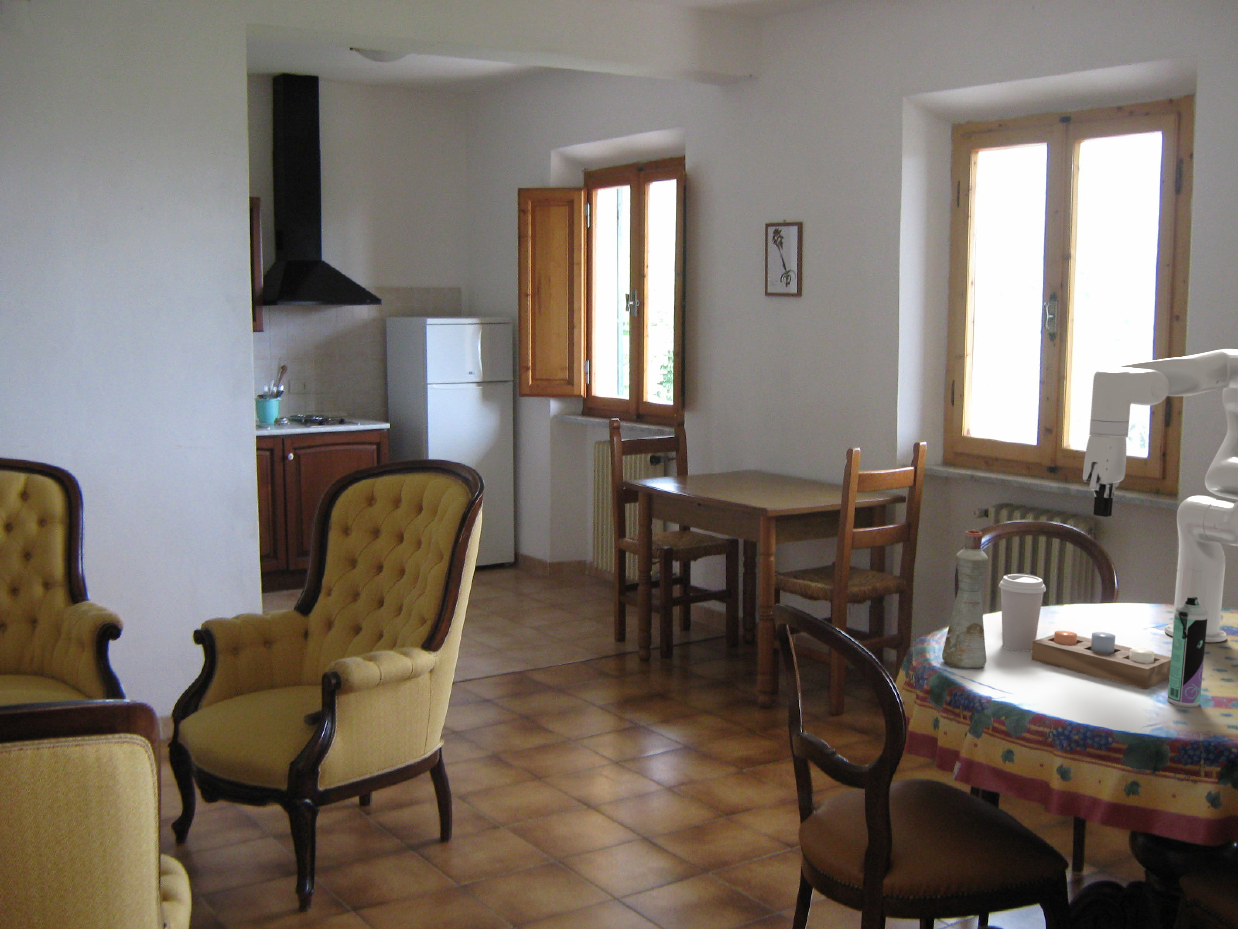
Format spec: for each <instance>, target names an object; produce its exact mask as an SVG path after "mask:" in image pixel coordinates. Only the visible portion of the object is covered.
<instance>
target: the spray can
mask: <svg viewBox="0 0 1238 929" xmlns="http://www.w3.org/2000/svg"><path fill="white" fill-rule="evenodd" d="M1197 599H1198V598H1197V597H1190V598H1187V601H1186V602H1185V603H1184V605H1182V606H1180V607H1177V608H1176V612H1175V618H1174V629H1173V636H1172V642H1171V652H1170V654H1171V655H1170V657H1171V664H1170V676H1169V680H1168V688H1167V689H1168V690H1167V701H1168V702H1169V703H1170V704H1173V705H1175V706H1180V707H1185V708H1186V707H1187V708H1196V707H1199V706H1200V704H1201V694H1202V682H1203V672H1204V660H1205V659H1204V658H1205V649H1206V642H1205V640H1206V629H1207V618H1208V616H1207V611H1206V610H1204V609H1203V608H1202V607H1200V604H1199V603H1198V602H1197Z"/></svg>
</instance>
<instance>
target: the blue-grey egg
mask: <svg viewBox="0 0 1238 929" xmlns="http://www.w3.org/2000/svg"><path fill="white" fill-rule="evenodd" d="M1091 639H1092V640H1091V651H1095V652H1099V653H1103V654H1107V655H1110V654H1113V653H1114V647H1115V644H1116V635H1115V634H1113V633H1109V632H1105V631H1104V632H1103V631H1098V632H1097V631H1095V632H1092V633H1091Z"/></svg>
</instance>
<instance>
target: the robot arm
mask: <svg viewBox="0 0 1238 929" xmlns="http://www.w3.org/2000/svg"><path fill="white" fill-rule="evenodd" d="M1092 380H1093V382H1092V397H1091V409H1090V419H1089V421H1090V423H1089V434H1088V440H1087V445H1086V449H1085V453H1084V455H1085V456H1084V462H1083V472H1082V479H1083V480H1082V481H1083V482H1085V483H1089V489H1090V490H1092V491H1093V496H1094V501H1093V502H1094V503H1093V513H1092V514H1093V515H1094V516H1096V517H1103V518H1104V517H1105V518H1107V517H1108V518H1109V517H1111V516H1112V515H1113V512H1112V511H1113V502H1114V501H1113V500H1114V499H1113V498H1114V497H1115V493H1116V488H1117V487H1119V485H1120V482H1121V481H1124V479H1125V476H1126V467H1127V438H1129V428H1130V427H1129V426H1130V416H1131V405H1137V406H1138V405H1140V406H1154V405H1158V404H1160V403H1161V402H1163V401H1164V400H1165V399H1166V398H1167V397H1190V396H1195V395H1199V394H1204V393H1208V392H1213V391H1218V390H1222V389H1223V391H1222V393H1221V394H1222V397H1221V399H1222V400H1221V401H1222V405H1223V408H1224V413H1225V416H1226V422H1227V431H1226V435H1225V437H1224V440H1223V441H1222V443H1221V445H1220V447H1219V448H1218V451H1216V452H1217V453H1216V454H1215V456H1214V458H1213V460H1212V462H1211V463H1210V466H1209V468H1208V470H1207V472H1206V474H1205V477H1204V485H1205V488H1206V489H1207V491H1209V492H1210V493H1212V495H1213V494H1214V495H1216V496H1219V497H1214V496H1208V495H1191V496H1189V497H1187V498H1185V499H1184V500H1183V501H1182V502H1181V503H1180V505H1179V506H1178V509H1177V511H1176V524H1177V531H1178V532H1177V533H1178V560H1177V571H1176V581H1175V596H1174V604H1173V616H1172V617H1173V618H1172V623H1169V624H1167V625H1165V626H1164V632H1165V634H1167V635H1169V636H1171V637H1173V629H1174V618H1175V612H1176V608H1177V607H1180V606H1182V605H1184V603H1185V602H1186V601H1187V598H1190V597H1197V598H1198V599H1197V602H1198V603H1199V604H1200V607H1202V608H1203V609H1204V610H1206V611H1207V616H1208V618H1207V629H1206V640H1205V643H1221V642H1224V641H1226V640H1227V637H1228V636H1227V633H1226V632H1225V631H1224V630H1221V629H1220V626H1221V622H1223V621H1224V616H1223V614H1222V613H1221V612H1222V604H1223V594H1224V585H1225V584H1224V581H1225V574H1226V573H1225V570H1226V556H1225V552H1224V549H1223V546H1222V544H1224V545H1229V546H1232V547H1233V546H1234V547H1238V349H1233V348H1224V349H1223V348H1222V349H1217V350H1212V351H1207V352H1203V353H1198V354H1191V355H1187V356H1181V357H1171V358H1170V357H1169V358H1163V359H1157V360H1147V361H1138V362H1131V363H1126V364H1121V365H1117V366H1112V367H1111V368H1109V369H1100V370H1097V371H1095V373H1094V375H1093V379H1092ZM1221 497H1222V498H1221ZM1225 498H1227V499H1225ZM1230 499H1234V500H1230ZM1236 500H1237V501H1236Z"/></svg>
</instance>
